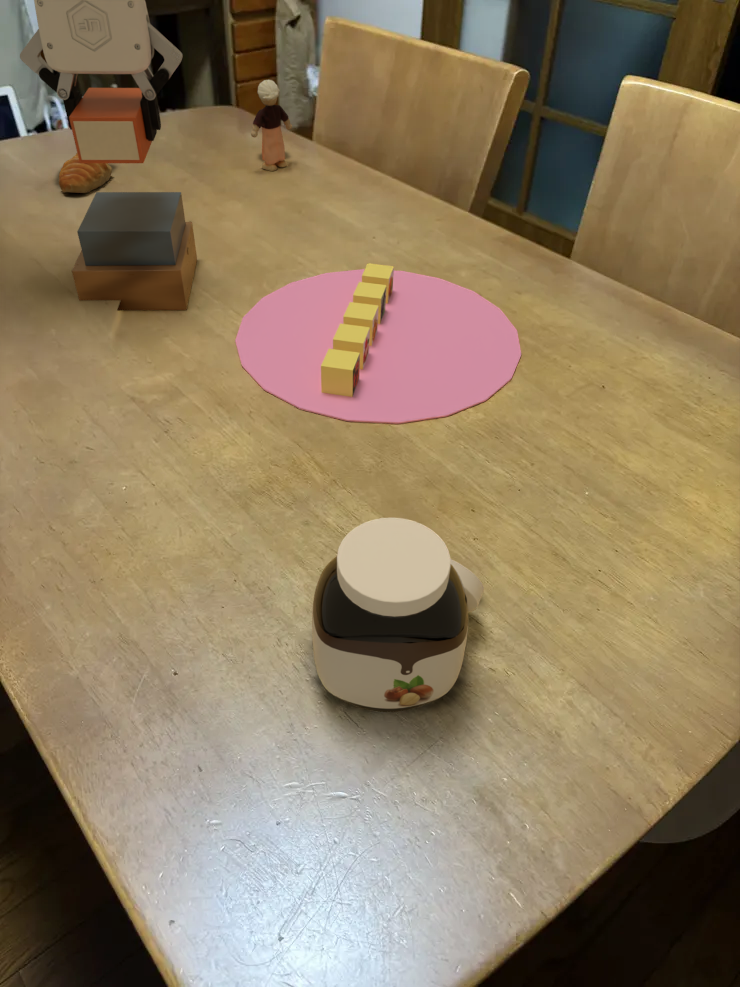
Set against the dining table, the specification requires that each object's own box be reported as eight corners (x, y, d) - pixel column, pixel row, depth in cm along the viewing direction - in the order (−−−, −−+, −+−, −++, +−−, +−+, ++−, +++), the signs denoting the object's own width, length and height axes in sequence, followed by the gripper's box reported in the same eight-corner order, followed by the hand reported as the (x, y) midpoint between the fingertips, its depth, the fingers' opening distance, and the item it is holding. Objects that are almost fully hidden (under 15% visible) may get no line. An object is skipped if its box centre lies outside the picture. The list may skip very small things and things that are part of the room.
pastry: (94, 198, 110) (88, 172, 108) (49, 196, 111) (42, 169, 108) (115, 175, 117) (110, 149, 115) (73, 172, 118) (67, 147, 115)
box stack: (80, 311, 87) (61, 236, 81) (101, 259, 96) (85, 189, 90) (187, 310, 88) (176, 235, 82) (198, 259, 97) (188, 189, 91)
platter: (191, 398, 75) (186, 369, 73) (282, 257, 98) (280, 232, 96) (511, 445, 71) (517, 417, 69) (528, 287, 94) (533, 261, 92)
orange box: (79, 163, 77) (68, 117, 74) (97, 131, 85) (88, 87, 82) (143, 164, 78) (135, 117, 75) (156, 131, 85) (149, 87, 82)
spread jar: (311, 717, 50) (305, 607, 42) (319, 585, 58) (315, 472, 50) (491, 719, 50) (519, 610, 42) (473, 587, 58) (494, 475, 50)
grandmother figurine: (278, 157, 125) (274, 72, 116) (296, 163, 123) (293, 77, 114) (247, 170, 120) (240, 83, 111) (265, 176, 118) (260, 88, 110)
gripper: (-34, -67, 65) (25, 149, 77) (169, -63, 66) (196, 149, 79) (-9, -78, 70) (43, 125, 83) (179, -74, 72) (202, 125, 84)
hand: (117, 135), depth 81 cm, fingers closed on orange box, 6 cm apart
